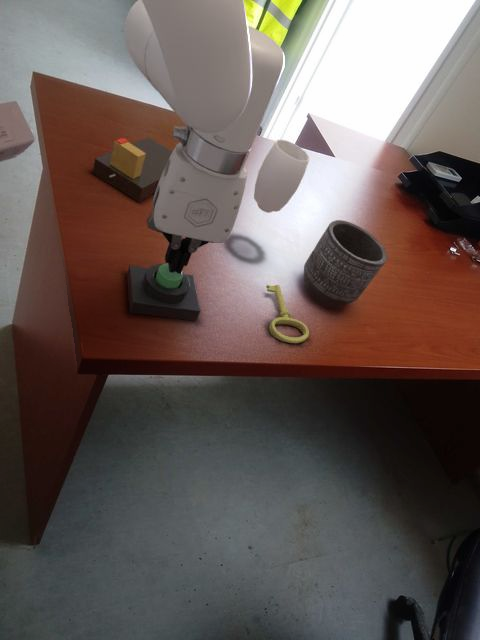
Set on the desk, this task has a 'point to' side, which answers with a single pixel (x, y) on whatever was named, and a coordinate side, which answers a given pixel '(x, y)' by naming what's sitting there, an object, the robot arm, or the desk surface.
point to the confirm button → (168, 277)
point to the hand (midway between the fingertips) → (174, 266)
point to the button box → (161, 295)
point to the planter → (342, 264)
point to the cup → (280, 175)
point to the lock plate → (149, 174)
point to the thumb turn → (127, 158)
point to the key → (285, 319)
